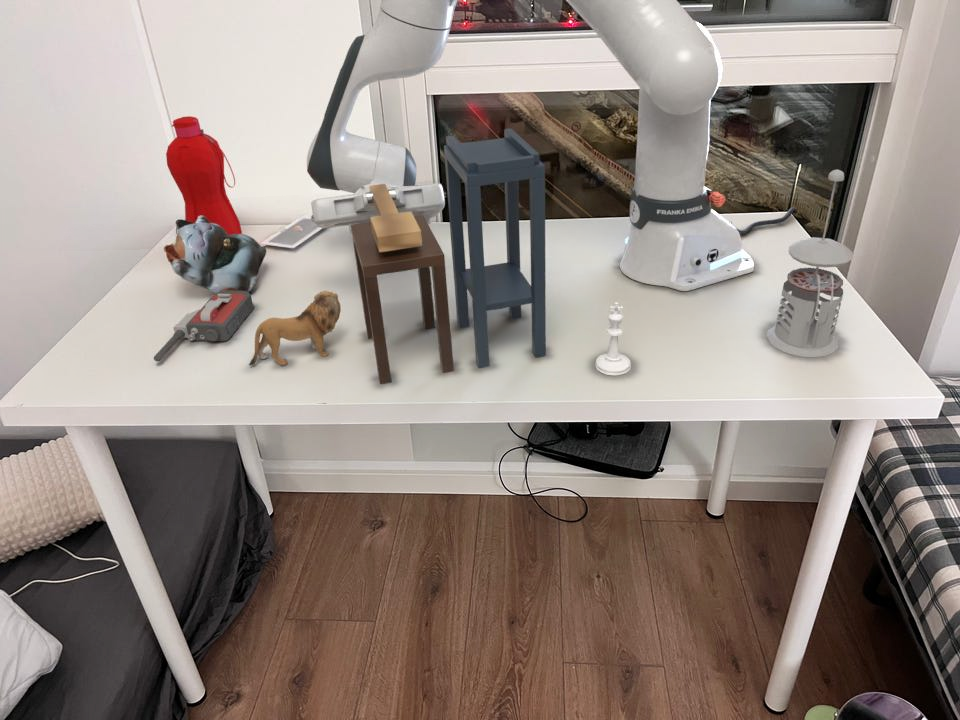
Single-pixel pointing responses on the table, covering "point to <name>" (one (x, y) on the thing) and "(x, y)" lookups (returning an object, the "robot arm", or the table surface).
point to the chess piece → (613, 348)
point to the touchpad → (293, 233)
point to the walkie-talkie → (212, 320)
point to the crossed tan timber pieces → (392, 223)
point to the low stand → (421, 259)
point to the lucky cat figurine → (214, 256)
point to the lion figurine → (299, 327)
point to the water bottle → (201, 175)
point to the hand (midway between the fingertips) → (381, 196)
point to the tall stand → (505, 280)
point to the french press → (811, 295)
